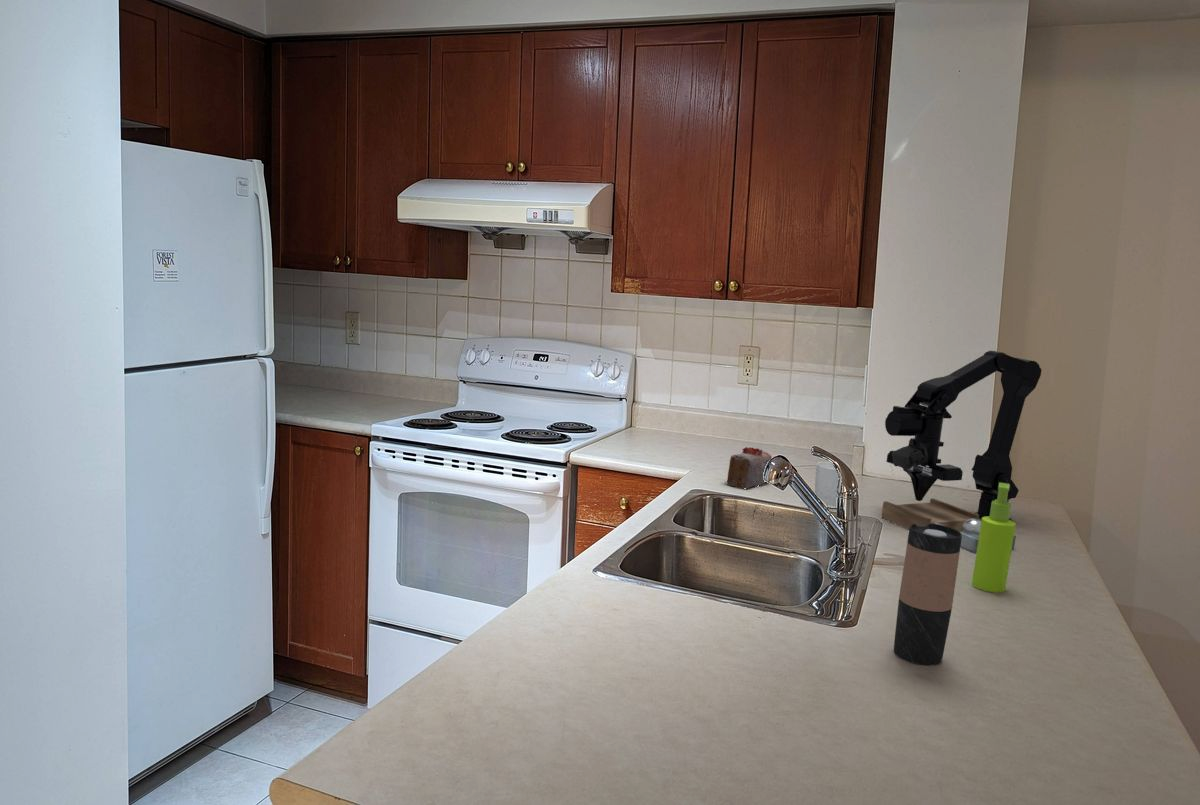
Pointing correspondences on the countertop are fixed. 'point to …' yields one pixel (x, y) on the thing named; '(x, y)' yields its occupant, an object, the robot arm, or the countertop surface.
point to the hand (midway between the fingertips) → (918, 500)
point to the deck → (926, 514)
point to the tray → (973, 542)
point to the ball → (972, 527)
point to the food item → (747, 468)
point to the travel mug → (926, 593)
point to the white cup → (826, 483)
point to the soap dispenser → (994, 545)
